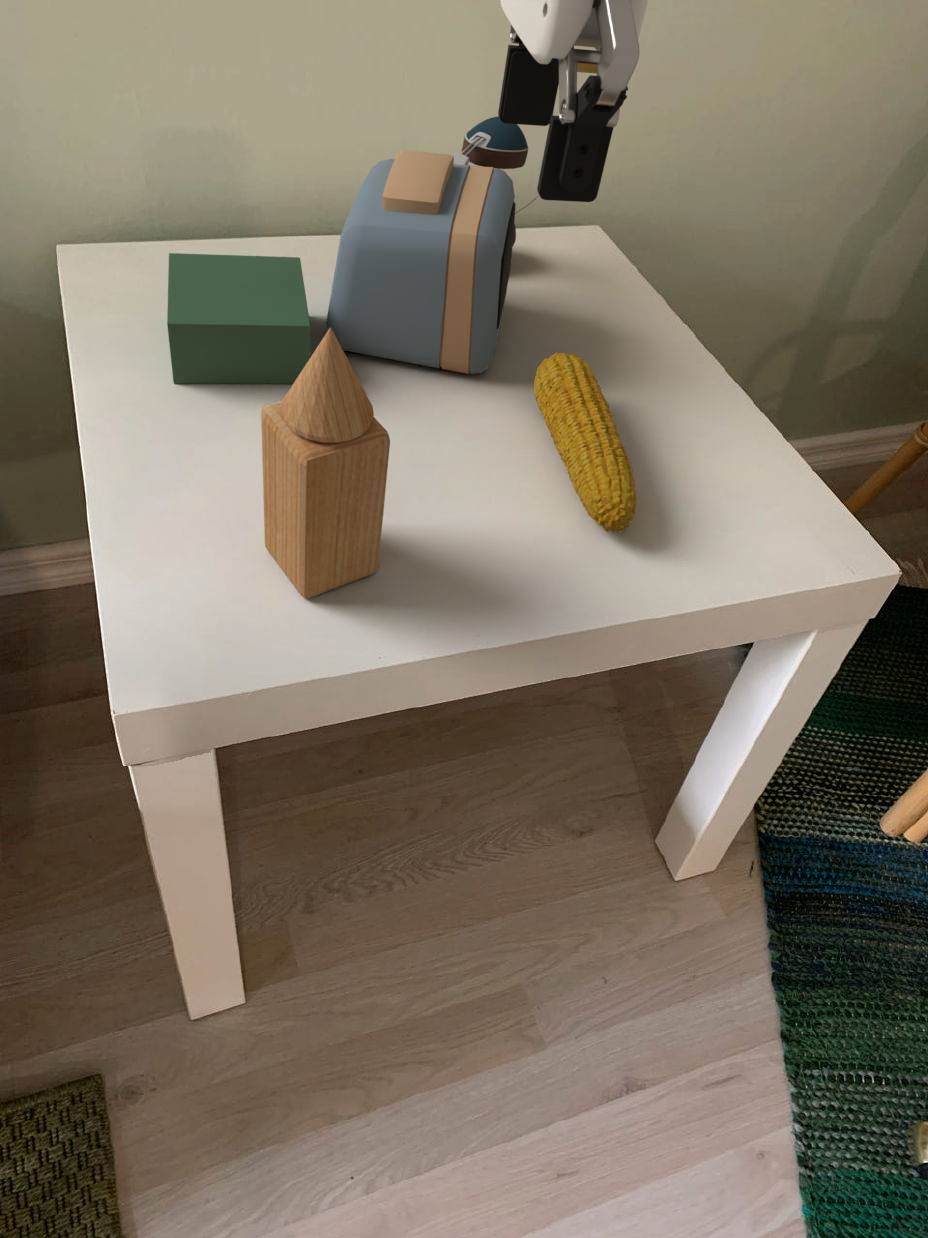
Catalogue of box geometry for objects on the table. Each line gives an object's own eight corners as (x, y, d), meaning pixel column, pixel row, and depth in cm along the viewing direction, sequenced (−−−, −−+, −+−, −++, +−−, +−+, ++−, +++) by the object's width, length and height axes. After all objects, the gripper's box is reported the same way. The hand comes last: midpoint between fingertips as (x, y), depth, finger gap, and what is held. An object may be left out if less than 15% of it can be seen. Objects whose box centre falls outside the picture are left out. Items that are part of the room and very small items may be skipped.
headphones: (512, 209, 114) (399, 289, 103) (530, 77, 102) (403, 151, 91) (556, 230, 113) (445, 313, 101) (579, 97, 100) (456, 175, 89)
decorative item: (381, 574, 72) (403, 343, 58) (303, 604, 69) (306, 368, 55) (337, 521, 76) (348, 290, 61) (261, 547, 73) (253, 310, 58)
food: (521, 396, 91) (533, 341, 86) (576, 395, 92) (591, 341, 88) (587, 550, 77) (605, 494, 73) (651, 546, 79) (672, 491, 74)
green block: (173, 383, 85) (167, 323, 80) (174, 311, 92) (168, 252, 88) (309, 384, 87) (310, 325, 83) (299, 313, 95) (300, 256, 91)
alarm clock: (488, 386, 91) (517, 226, 79) (320, 354, 91) (324, 189, 79) (505, 300, 102) (532, 148, 90) (355, 272, 102) (363, 116, 90)
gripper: (495, -289, 46) (451, 93, 58) (594, -225, 35) (513, 230, 47) (641, -265, 47) (567, 102, 60) (779, -196, 36) (653, 236, 49)
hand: (543, 158), depth 54 cm, fingers open, 9 cm apart
